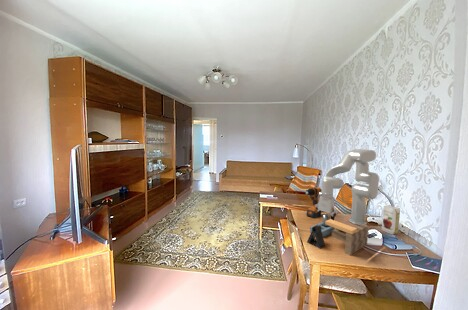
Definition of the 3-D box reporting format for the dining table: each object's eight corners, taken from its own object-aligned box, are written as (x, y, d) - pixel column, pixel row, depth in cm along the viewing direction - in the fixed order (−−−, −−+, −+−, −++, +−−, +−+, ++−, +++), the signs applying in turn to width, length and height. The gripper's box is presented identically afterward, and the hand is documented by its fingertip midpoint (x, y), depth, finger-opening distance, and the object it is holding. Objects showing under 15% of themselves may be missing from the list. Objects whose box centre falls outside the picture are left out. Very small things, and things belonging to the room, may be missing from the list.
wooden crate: (339, 233, 140) (340, 216, 138) (367, 245, 125) (369, 225, 124) (320, 242, 126) (321, 223, 125) (350, 256, 112) (351, 235, 111)
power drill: (309, 220, 162) (311, 190, 160) (301, 217, 168) (303, 189, 166) (322, 214, 175) (324, 187, 173) (314, 212, 181) (316, 185, 179)
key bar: (330, 222, 127) (330, 219, 127) (356, 231, 114) (357, 228, 114) (325, 224, 124) (325, 221, 124) (351, 234, 111) (352, 231, 111)
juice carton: (386, 228, 149) (388, 204, 148) (399, 233, 141) (401, 208, 140) (380, 230, 147) (382, 205, 145) (392, 235, 139) (394, 209, 137)
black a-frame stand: (325, 245, 123) (326, 227, 122) (320, 248, 120) (321, 229, 119) (311, 239, 130) (312, 222, 129) (306, 242, 127) (307, 224, 126)
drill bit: (323, 229, 144) (324, 213, 143) (329, 231, 141) (330, 215, 140) (320, 230, 142) (321, 214, 141) (326, 232, 139) (326, 216, 138)
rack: (322, 228, 148) (322, 221, 147) (334, 233, 140) (334, 226, 140) (309, 233, 139) (310, 226, 138) (321, 239, 131) (322, 232, 131)
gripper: (312, 193, 144) (311, 216, 146) (336, 199, 130) (334, 224, 132) (318, 192, 149) (317, 214, 150) (341, 198, 134) (340, 222, 136)
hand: (325, 218), depth 141 cm, fingers open, 9 cm apart
